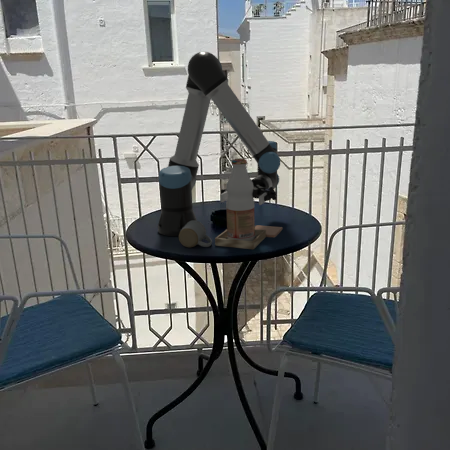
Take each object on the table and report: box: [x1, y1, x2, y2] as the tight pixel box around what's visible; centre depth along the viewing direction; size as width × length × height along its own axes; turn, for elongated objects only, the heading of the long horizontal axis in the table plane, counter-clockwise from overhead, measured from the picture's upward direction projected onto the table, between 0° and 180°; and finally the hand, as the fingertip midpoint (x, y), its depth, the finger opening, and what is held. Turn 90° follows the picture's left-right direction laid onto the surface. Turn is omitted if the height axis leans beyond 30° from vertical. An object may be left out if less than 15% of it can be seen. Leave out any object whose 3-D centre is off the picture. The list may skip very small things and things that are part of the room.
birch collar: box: [214, 229, 267, 250], centre depth 157 cm, size 14×14×2 cm
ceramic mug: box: [178, 220, 213, 249], centre depth 154 cm, size 11×8×8 cm
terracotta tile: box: [255, 224, 283, 238], centre depth 166 cm, size 10×10×1 cm
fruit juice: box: [225, 158, 256, 241], centre depth 153 cm, size 9×9×28 cm
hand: (240, 199), depth 152 cm, fingers open, 13 cm apart
